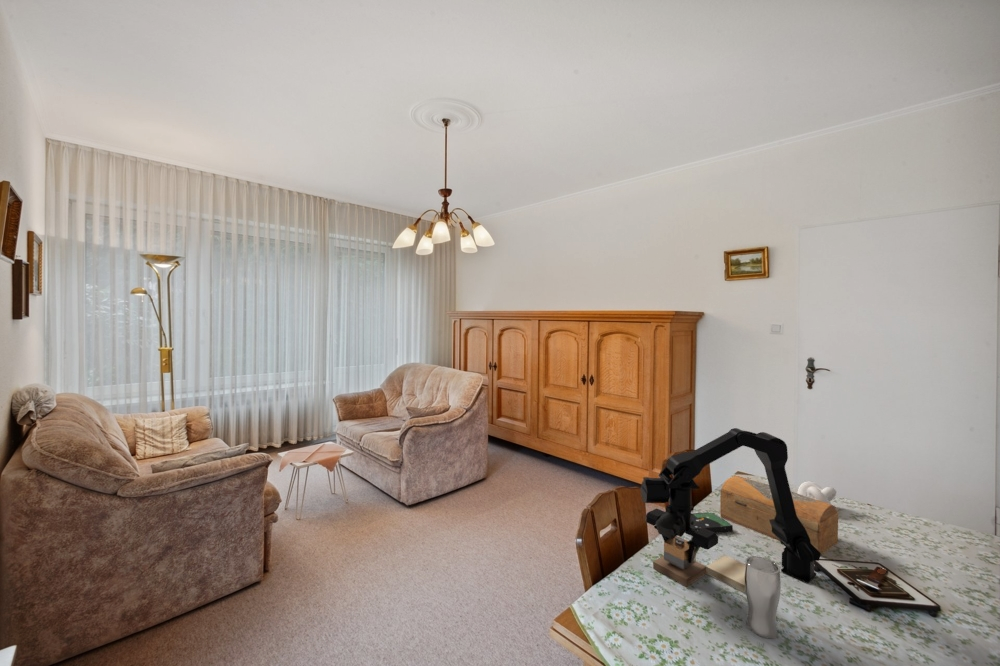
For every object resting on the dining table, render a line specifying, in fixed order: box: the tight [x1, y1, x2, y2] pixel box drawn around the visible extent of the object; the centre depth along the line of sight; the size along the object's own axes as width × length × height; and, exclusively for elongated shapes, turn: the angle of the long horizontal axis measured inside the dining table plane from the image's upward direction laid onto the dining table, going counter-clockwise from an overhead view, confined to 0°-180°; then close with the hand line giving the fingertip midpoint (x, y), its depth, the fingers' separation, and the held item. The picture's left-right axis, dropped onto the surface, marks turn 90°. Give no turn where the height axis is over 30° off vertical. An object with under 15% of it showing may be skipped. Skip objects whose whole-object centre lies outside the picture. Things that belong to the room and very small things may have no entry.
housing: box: [663, 536, 697, 570], centre depth 114 cm, size 6×6×6 cm
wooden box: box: [719, 475, 840, 556], centre depth 137 cm, size 30×16×14 cm, turn 32°
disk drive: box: [691, 512, 734, 534], centre depth 139 cm, size 10×3×15 cm
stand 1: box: [652, 555, 707, 588], centre depth 114 cm, size 10×10×2 cm
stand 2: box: [705, 554, 746, 594], centre depth 112 cm, size 10×10×2 cm
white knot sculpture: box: [797, 481, 837, 505], centre depth 153 cm, size 11×12×9 cm
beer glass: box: [744, 555, 782, 640], centre depth 92 cm, size 7×7×15 cm
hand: (679, 557), depth 114 cm, fingers closed on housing, 6 cm apart
